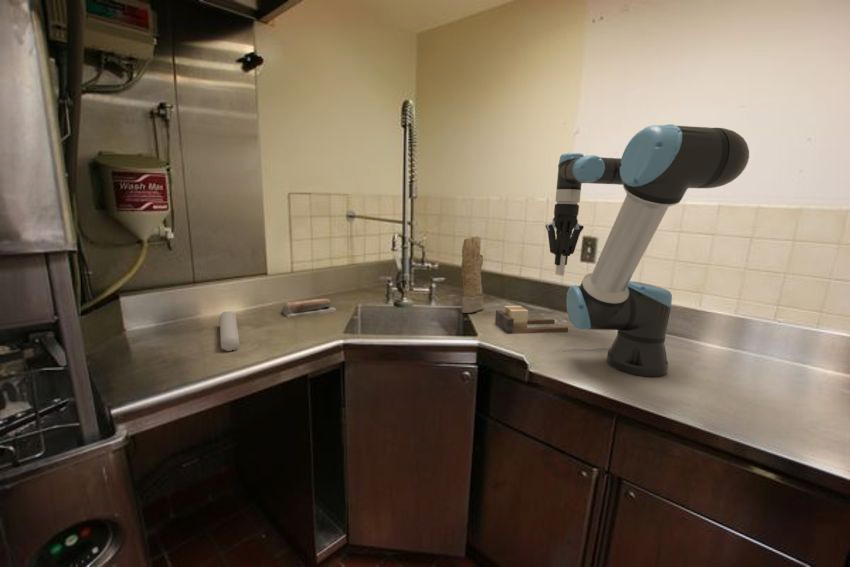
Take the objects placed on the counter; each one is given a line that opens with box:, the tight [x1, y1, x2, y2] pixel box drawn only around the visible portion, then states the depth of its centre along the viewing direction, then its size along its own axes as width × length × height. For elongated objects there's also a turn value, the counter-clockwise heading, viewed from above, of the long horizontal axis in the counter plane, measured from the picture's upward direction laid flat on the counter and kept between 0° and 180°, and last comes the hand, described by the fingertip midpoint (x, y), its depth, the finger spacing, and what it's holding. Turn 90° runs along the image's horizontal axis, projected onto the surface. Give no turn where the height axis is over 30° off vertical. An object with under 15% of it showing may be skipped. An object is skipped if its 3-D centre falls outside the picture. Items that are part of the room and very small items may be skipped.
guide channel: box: [494, 309, 569, 335], centre depth 137 cm, size 12×22×6 cm, turn 101°
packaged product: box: [280, 298, 337, 319], centre depth 149 cm, size 18×5×10 cm
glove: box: [460, 235, 485, 314], centre depth 158 cm, size 14×10×30 cm
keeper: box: [503, 305, 530, 328], centre depth 136 cm, size 6×6×7 cm
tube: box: [218, 311, 240, 352], centre depth 120 cm, size 5×5×25 cm
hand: (559, 274), depth 134 cm, fingers closed
